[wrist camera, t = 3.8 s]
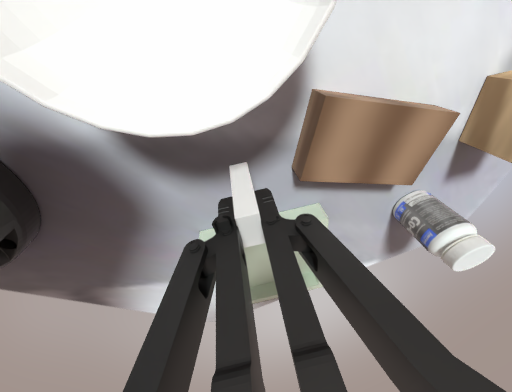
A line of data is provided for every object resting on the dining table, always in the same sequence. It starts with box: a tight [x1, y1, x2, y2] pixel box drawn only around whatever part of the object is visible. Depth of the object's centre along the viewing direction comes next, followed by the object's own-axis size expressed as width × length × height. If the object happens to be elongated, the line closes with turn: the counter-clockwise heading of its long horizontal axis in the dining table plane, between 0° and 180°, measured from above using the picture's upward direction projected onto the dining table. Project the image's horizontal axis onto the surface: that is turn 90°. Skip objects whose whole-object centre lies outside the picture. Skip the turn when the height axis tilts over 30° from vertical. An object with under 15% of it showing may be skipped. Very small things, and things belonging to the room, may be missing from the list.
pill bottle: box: [393, 190, 495, 271], centre depth 23 cm, size 5×5×8 cm
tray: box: [199, 203, 328, 304], centre depth 27 cm, size 14×14×3 cm
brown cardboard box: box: [292, 89, 460, 185], centre depth 19 cm, size 12×7×3 cm, turn 82°
